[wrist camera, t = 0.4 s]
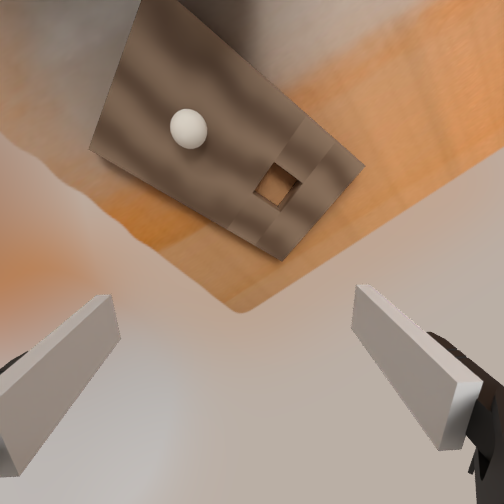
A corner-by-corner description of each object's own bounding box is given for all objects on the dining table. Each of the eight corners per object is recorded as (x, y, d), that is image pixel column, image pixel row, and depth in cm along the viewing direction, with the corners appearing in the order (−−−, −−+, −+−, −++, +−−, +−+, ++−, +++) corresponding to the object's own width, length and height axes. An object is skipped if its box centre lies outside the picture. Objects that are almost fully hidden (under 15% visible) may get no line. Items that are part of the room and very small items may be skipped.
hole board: (157, -13, 25) (150, -24, 23) (357, 162, 35) (365, 165, 33) (98, 146, 32) (88, 149, 30) (279, 253, 42) (282, 261, 40)
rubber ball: (183, 100, 28) (177, 99, 24) (214, 123, 29) (212, 125, 26) (168, 132, 29) (159, 136, 26) (198, 153, 31) (194, 159, 27)
